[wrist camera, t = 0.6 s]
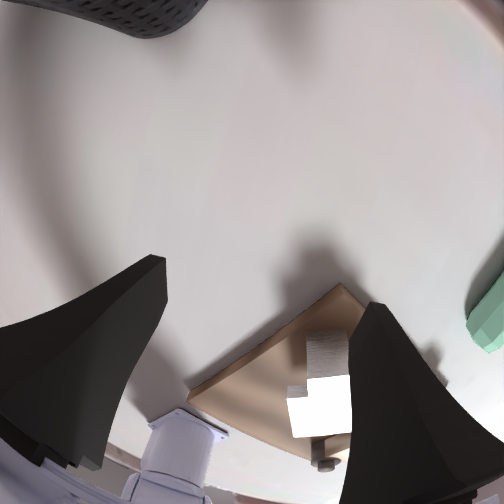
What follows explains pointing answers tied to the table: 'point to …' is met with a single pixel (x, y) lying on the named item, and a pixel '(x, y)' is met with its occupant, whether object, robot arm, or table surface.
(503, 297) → the green octagonal bar
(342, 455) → the link
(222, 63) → the table surface
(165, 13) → the storage bin
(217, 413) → the board
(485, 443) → the robot arm
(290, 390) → the plate
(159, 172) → the table surface
